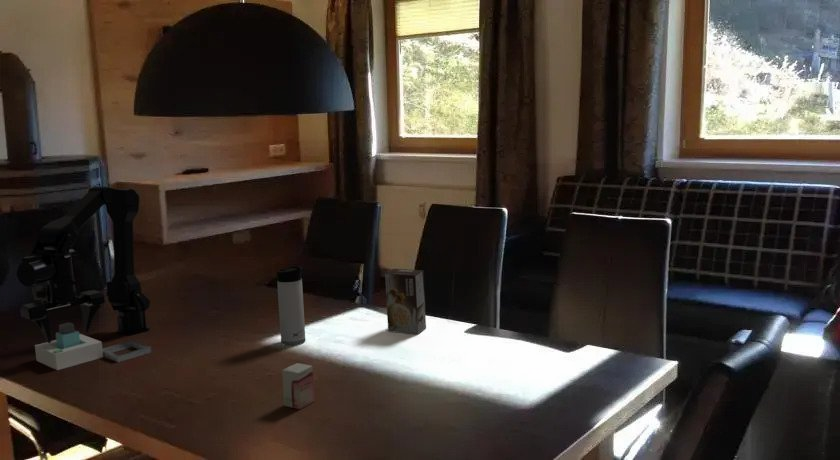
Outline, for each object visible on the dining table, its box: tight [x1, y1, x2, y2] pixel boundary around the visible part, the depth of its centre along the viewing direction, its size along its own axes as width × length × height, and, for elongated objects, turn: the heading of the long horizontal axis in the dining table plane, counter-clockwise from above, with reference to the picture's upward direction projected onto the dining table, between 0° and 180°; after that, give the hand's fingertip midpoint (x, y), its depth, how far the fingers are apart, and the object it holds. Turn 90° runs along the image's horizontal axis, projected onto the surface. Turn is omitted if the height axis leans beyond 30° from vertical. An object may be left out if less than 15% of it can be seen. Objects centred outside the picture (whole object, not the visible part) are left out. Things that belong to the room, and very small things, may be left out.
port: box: [34, 333, 104, 371], centre depth 193 cm, size 12×12×4 cm
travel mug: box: [276, 265, 306, 347], centre depth 199 cm, size 6×7×20 cm
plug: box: [55, 322, 80, 349], centre depth 193 cm, size 4×4×9 cm
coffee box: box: [384, 268, 427, 335], centre depth 207 cm, size 9×6×16 cm
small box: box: [281, 362, 315, 410], centre depth 160 cm, size 5×4×8 cm
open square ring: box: [102, 339, 152, 363], centre depth 196 cm, size 9×9×2 cm
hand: (67, 337), depth 192 cm, fingers open, 9 cm apart
